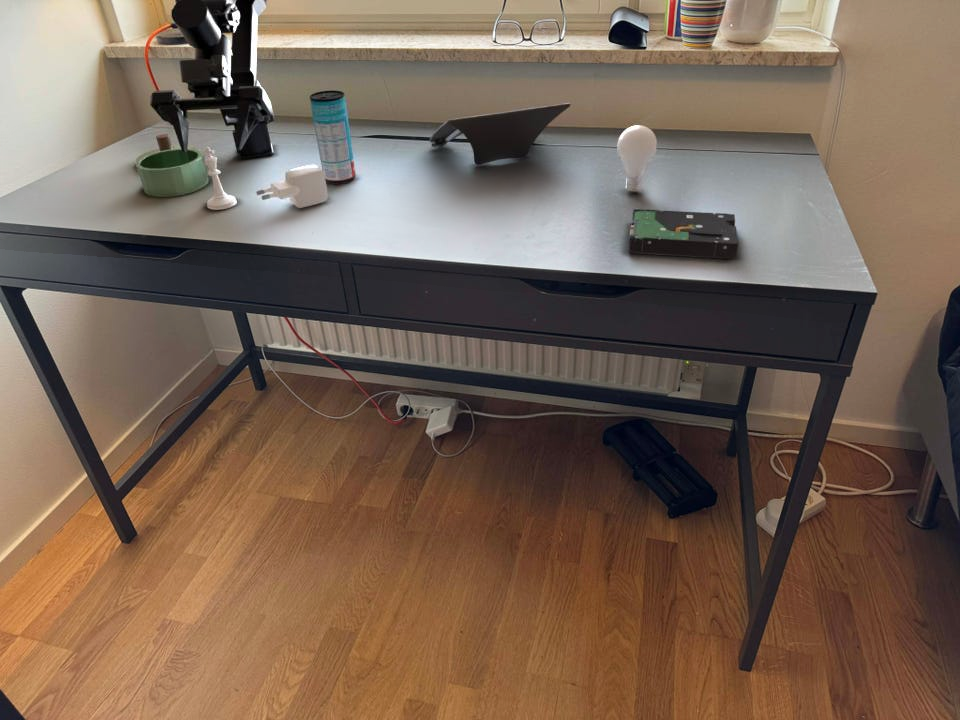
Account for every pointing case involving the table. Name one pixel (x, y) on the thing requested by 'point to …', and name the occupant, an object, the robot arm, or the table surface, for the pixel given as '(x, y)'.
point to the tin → (172, 172)
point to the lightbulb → (636, 154)
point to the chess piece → (217, 185)
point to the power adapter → (300, 187)
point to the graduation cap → (499, 132)
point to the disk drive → (683, 233)
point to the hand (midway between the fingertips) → (211, 150)
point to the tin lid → (163, 145)
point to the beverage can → (333, 136)
